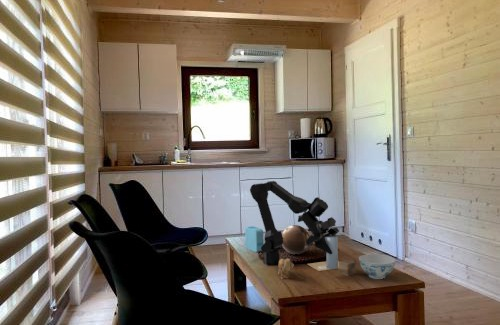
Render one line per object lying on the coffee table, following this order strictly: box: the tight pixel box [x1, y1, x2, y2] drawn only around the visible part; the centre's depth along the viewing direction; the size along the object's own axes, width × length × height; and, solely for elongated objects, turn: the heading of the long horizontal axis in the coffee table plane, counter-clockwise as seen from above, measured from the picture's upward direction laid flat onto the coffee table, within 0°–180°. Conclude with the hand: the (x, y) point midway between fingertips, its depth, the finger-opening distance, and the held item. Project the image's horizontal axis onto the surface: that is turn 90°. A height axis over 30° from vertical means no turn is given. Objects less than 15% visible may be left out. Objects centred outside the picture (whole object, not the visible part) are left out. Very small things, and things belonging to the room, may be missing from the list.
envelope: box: [307, 260, 341, 272], centre depth 196 cm, size 16×12×1 cm
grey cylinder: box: [325, 235, 339, 270], centre depth 179 cm, size 5×5×13 cm
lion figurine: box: [277, 258, 295, 280], centre depth 183 cm, size 15×5×9 cm, turn 15°
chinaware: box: [358, 253, 397, 280], centre depth 179 cm, size 15×15×8 cm
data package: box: [244, 225, 265, 253], centre depth 228 cm, size 12×4×12 cm, turn 31°
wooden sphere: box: [281, 224, 310, 255], centre depth 218 cm, size 15×15×15 cm
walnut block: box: [338, 259, 357, 277], centre depth 185 cm, size 5×5×5 cm
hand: (334, 252), depth 178 cm, fingers closed on grey cylinder, 5 cm apart
